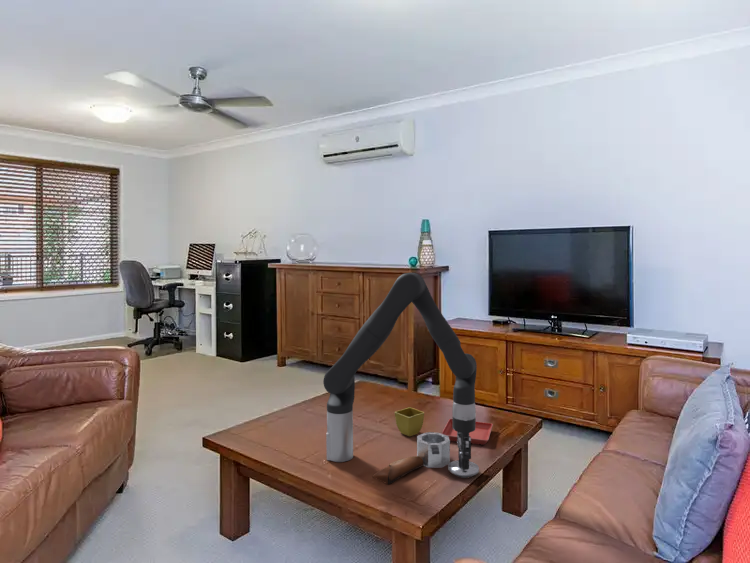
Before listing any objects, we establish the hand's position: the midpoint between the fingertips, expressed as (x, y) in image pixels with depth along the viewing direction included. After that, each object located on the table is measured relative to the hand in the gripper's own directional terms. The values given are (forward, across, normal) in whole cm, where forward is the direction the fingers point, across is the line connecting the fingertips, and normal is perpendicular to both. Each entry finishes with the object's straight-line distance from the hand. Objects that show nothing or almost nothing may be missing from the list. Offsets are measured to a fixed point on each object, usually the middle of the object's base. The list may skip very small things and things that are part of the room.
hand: (463, 463), depth 166 cm
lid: (+3, 0, 0) cm, 3 cm away
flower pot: (+4, -35, -16) cm, 39 cm away
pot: (+3, -10, -9) cm, 14 cm away
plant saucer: (+4, -33, +7) cm, 34 cm away
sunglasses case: (+4, -1, -22) cm, 22 cm away
